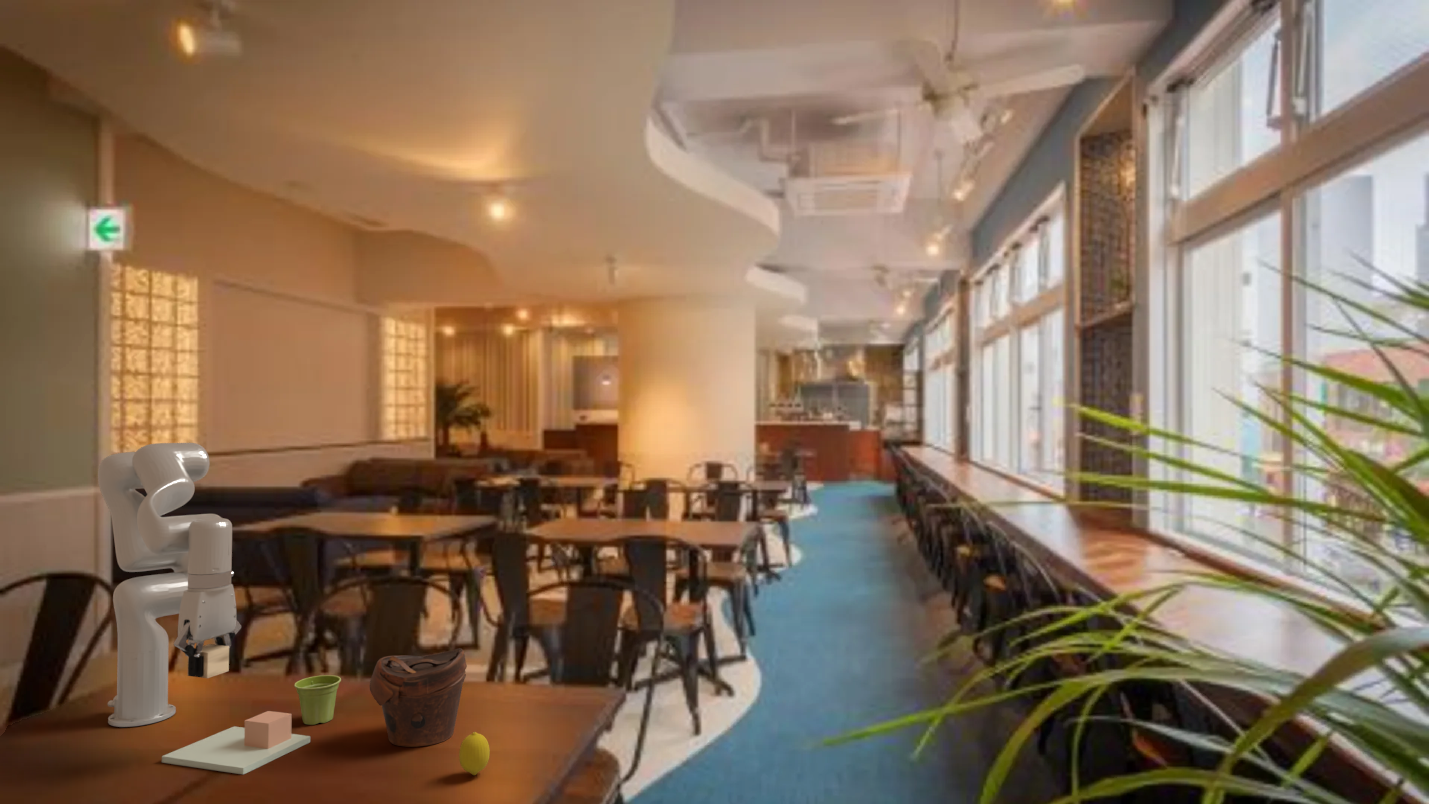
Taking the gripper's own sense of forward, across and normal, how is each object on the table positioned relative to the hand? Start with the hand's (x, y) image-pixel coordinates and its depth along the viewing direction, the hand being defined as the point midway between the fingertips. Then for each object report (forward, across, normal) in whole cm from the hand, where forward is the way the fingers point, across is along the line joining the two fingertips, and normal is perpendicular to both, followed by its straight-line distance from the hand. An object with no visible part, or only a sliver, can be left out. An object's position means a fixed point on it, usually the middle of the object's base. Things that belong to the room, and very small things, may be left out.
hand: (208, 671), depth 170 cm
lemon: (+16, -7, +56) cm, 59 cm away
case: (+17, -21, +34) cm, 44 cm away
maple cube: (0, 0, 0) cm, 0 cm away
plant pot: (+17, -23, +6) cm, 29 cm away
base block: (+16, -7, +8) cm, 19 cm away
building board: (+17, -3, +4) cm, 18 cm away
